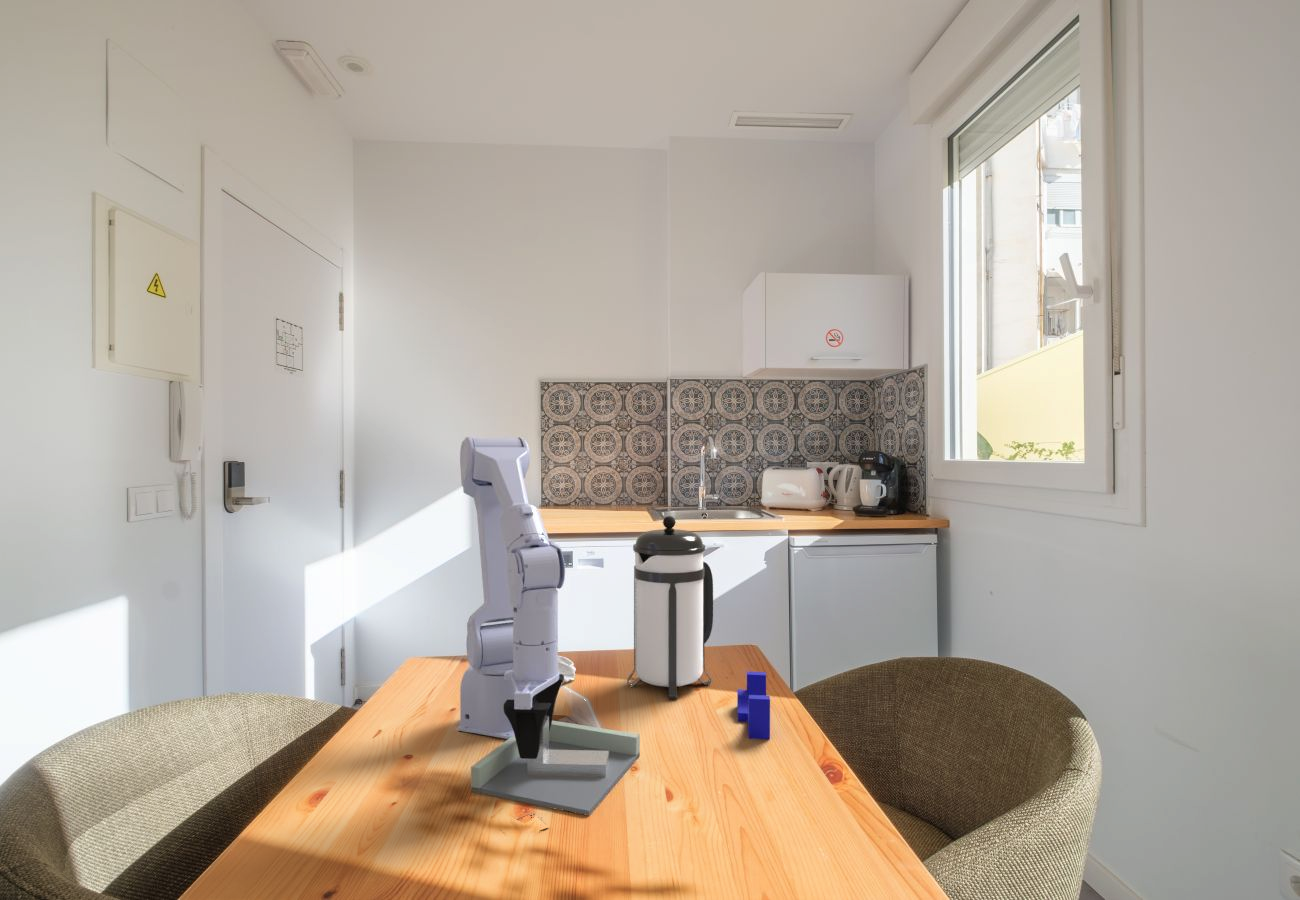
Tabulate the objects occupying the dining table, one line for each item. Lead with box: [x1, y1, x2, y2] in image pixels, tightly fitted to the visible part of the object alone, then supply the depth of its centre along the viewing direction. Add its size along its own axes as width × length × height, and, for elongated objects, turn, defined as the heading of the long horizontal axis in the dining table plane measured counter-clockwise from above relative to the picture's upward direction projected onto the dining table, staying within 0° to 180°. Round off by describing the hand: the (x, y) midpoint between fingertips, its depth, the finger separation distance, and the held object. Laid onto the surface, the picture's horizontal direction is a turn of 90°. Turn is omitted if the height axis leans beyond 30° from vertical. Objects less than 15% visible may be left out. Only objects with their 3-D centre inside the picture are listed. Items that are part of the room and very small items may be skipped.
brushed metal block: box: [527, 716, 609, 777], centre depth 88 cm, size 10×4×6 cm, turn 88°
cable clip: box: [736, 670, 771, 740], centre depth 104 cm, size 12×4×6 cm, turn 173°
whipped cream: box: [558, 655, 577, 683], centre depth 124 cm, size 8×7×5 cm
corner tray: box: [470, 719, 641, 816], centre depth 88 cm, size 16×16×3 cm
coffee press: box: [626, 515, 714, 700], centre depth 121 cm, size 17×16×30 cm
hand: (535, 743), depth 88 cm, fingers open, 7 cm apart
